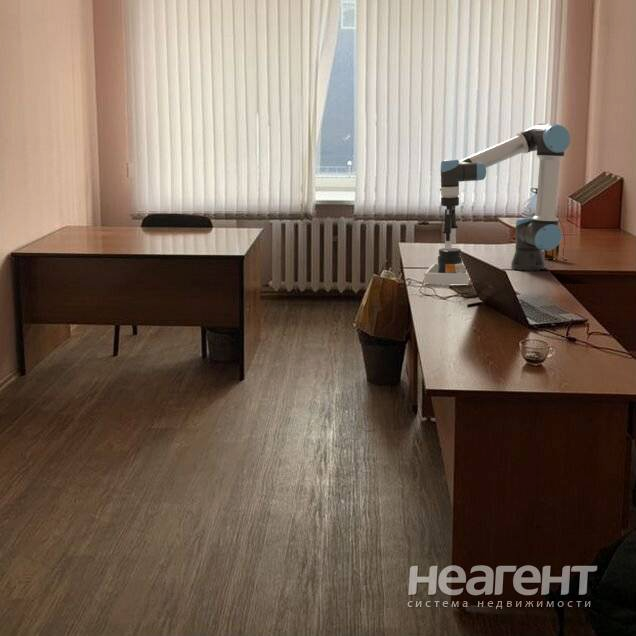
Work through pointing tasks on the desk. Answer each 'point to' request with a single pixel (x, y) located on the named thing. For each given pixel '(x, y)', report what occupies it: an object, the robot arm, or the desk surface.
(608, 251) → the desk surface
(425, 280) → the block
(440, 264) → the supplement container
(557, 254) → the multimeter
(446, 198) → the robot arm
